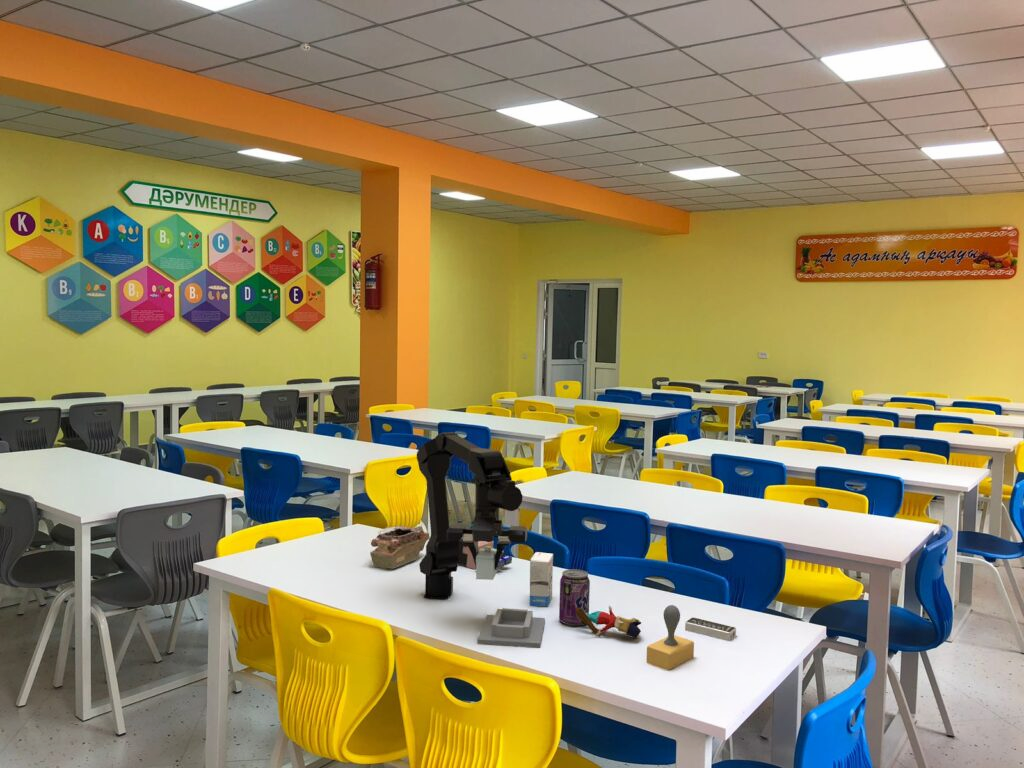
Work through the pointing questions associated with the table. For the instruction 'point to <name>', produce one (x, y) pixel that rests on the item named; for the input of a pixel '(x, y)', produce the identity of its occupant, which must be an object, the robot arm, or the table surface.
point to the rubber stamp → (670, 644)
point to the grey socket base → (512, 629)
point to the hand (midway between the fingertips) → (486, 569)
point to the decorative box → (397, 546)
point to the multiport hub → (710, 629)
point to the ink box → (541, 579)
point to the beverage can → (573, 596)
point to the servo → (486, 564)
